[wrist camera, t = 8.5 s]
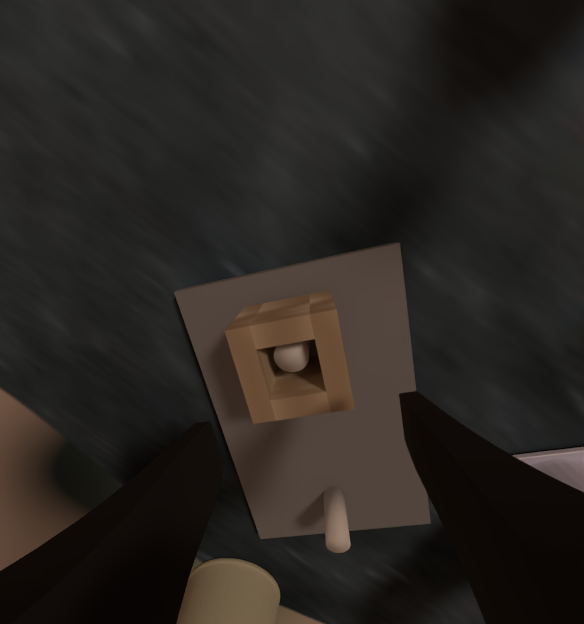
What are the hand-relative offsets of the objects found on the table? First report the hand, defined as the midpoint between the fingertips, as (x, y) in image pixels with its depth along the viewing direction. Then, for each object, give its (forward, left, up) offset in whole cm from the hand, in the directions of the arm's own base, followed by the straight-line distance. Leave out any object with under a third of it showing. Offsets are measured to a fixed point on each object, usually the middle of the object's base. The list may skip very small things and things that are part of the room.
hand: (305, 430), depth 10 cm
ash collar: (+1, -1, -7) cm, 7 cm away
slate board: (+1, +6, -9) cm, 11 cm away
